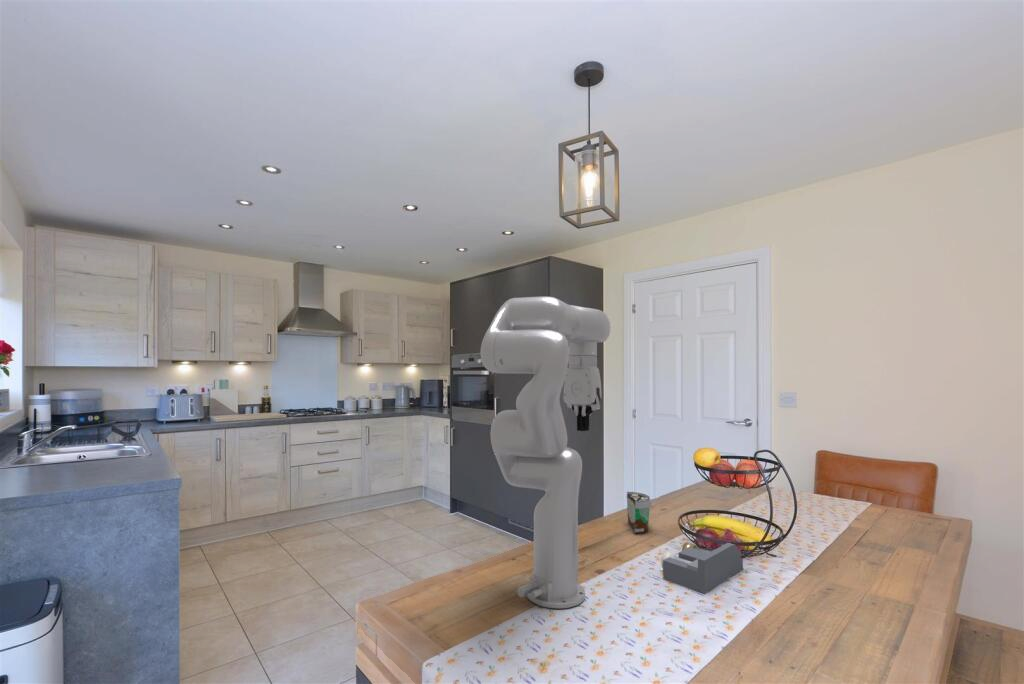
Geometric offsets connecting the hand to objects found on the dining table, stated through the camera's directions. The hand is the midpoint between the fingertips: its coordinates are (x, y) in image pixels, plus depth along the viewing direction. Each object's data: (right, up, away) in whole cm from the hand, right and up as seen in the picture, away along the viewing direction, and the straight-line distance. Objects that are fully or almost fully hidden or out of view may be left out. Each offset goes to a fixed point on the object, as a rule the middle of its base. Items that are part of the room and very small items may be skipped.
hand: (582, 430), depth 130 cm
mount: (+27, -32, -15) cm, 44 cm away
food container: (+20, -34, +17) cm, 43 cm away
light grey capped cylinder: (+22, -31, -17) cm, 41 cm away
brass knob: (+29, -31, -10) cm, 44 cm away
